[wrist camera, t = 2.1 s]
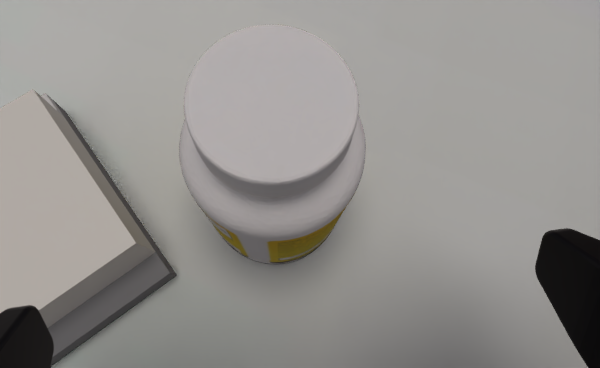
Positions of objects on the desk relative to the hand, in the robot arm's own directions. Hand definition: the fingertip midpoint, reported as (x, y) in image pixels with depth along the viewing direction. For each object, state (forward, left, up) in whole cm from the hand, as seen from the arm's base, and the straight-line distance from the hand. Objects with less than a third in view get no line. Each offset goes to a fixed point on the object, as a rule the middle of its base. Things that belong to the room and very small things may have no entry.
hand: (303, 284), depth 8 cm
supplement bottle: (+4, +1, -11) cm, 12 cm away
